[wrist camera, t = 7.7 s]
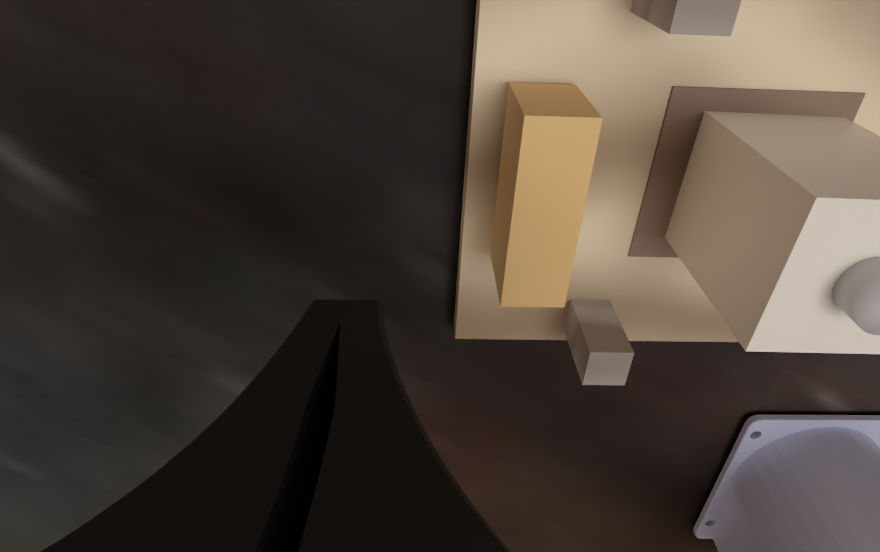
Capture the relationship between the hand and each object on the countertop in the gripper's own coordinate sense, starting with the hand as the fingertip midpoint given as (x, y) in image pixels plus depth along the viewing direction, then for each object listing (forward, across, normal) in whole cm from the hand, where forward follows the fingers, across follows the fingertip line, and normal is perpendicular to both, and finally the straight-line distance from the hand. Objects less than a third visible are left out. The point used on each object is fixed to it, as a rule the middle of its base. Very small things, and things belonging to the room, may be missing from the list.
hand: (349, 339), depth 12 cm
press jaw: (+8, -5, 0) cm, 10 cm away
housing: (+8, -12, 0) cm, 15 cm away
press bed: (+9, -11, 0) cm, 14 cm away
